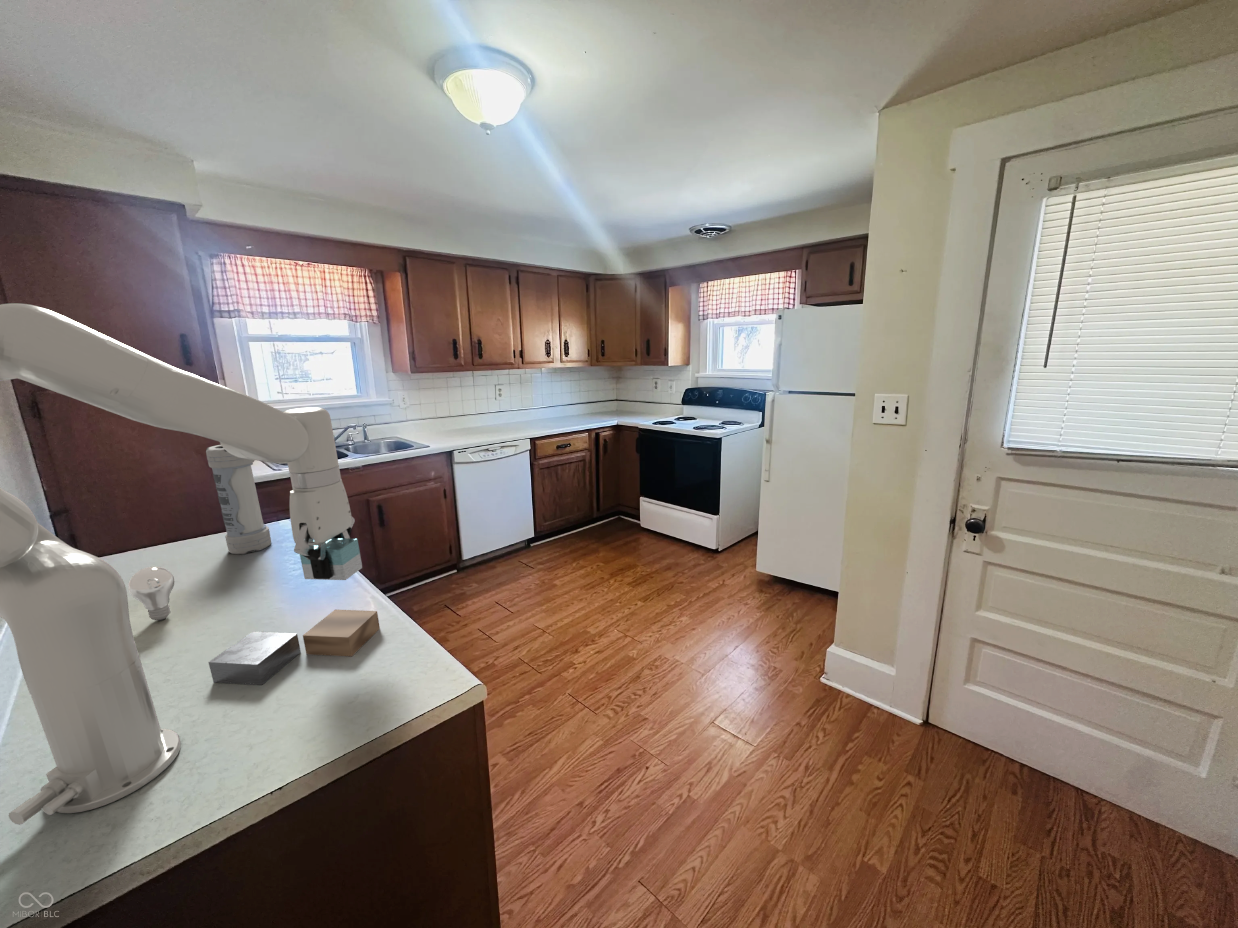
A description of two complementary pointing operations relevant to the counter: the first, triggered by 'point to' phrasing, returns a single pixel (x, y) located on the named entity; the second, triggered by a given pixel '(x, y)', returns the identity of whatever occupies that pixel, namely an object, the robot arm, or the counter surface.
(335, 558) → the teal and grey block
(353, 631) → the stand
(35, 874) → the counter surface
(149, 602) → the light bulb
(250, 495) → the canister
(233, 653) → the stand
